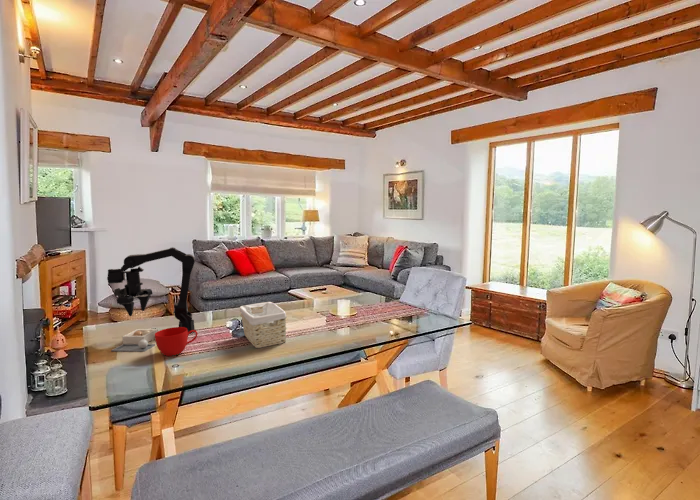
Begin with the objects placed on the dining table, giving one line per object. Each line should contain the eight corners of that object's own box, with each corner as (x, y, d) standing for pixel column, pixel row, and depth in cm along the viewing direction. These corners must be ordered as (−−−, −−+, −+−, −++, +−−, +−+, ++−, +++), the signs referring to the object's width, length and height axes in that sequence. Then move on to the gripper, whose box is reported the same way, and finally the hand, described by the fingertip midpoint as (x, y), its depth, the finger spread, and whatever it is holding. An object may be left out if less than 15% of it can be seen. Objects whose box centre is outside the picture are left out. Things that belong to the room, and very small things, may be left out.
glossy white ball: (150, 346, 187) (149, 338, 186) (144, 349, 183) (143, 341, 182) (142, 346, 187) (141, 338, 187) (136, 349, 183) (135, 341, 183)
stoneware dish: (158, 337, 202) (157, 329, 201) (144, 344, 191) (143, 336, 190) (138, 336, 203) (137, 329, 203) (122, 344, 193) (122, 336, 192)
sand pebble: (150, 340, 198) (154, 333, 201) (146, 335, 195) (150, 328, 198) (143, 340, 199) (146, 333, 201) (139, 335, 196) (142, 328, 198)
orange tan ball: (143, 339, 199) (144, 331, 200) (138, 338, 195) (139, 330, 196) (135, 339, 199) (137, 331, 201) (130, 338, 196) (132, 330, 197)
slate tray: (155, 346, 189) (155, 344, 188) (144, 352, 181) (144, 350, 181) (123, 346, 191) (123, 343, 191) (111, 352, 183) (111, 350, 183)
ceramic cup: (201, 353, 177) (199, 330, 176) (158, 362, 169) (155, 338, 167) (196, 344, 188) (194, 323, 187) (155, 352, 180) (153, 330, 179)
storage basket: (289, 343, 185) (287, 311, 183) (253, 350, 177) (250, 317, 175) (273, 329, 206) (271, 300, 204) (240, 335, 198) (238, 305, 197)
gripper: (130, 278, 206) (134, 308, 208) (104, 286, 188) (107, 319, 190) (151, 277, 205) (154, 308, 206) (126, 285, 186) (130, 319, 188)
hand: (137, 313), depth 198 cm, fingers open, 9 cm apart
